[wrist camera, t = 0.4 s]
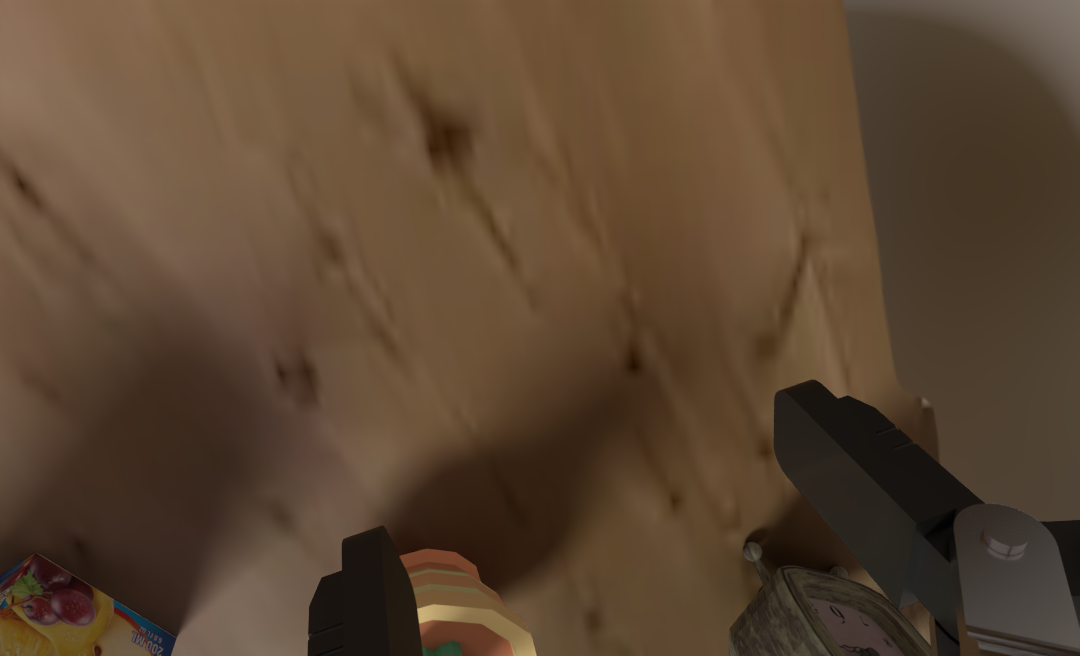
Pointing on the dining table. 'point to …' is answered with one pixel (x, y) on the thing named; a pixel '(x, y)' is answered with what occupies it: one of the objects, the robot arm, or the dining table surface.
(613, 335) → the dining table surface
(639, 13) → the dining table surface
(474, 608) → the potted cactus
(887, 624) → the tabletop clock
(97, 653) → the juice carton
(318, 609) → the robot arm
